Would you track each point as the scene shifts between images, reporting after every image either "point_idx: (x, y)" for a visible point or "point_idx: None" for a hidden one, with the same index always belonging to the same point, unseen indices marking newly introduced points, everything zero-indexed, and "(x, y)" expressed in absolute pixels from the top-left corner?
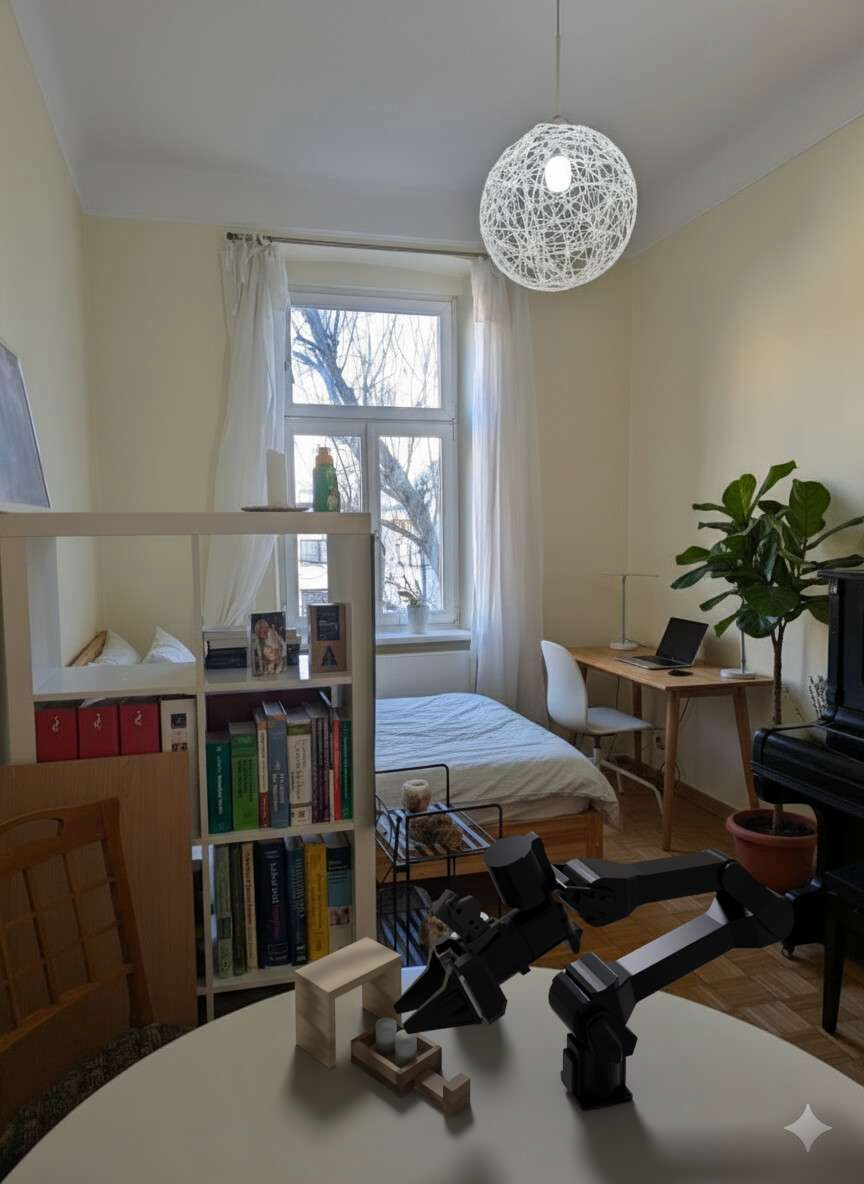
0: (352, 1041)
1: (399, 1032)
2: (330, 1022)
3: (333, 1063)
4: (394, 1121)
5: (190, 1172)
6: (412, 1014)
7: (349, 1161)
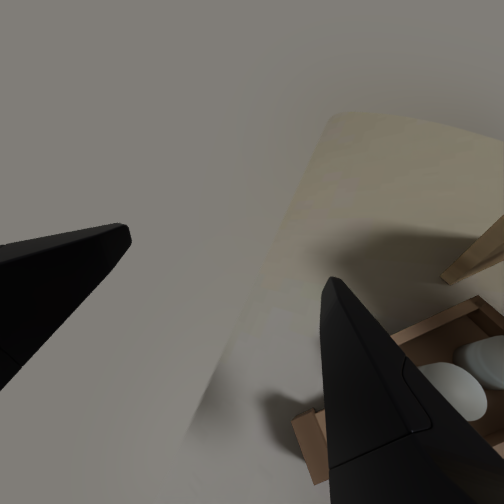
0: (474, 297)
1: (470, 379)
2: (483, 241)
3: (447, 280)
4: (311, 331)
5: (304, 176)
6: (96, 232)
7: (273, 273)
